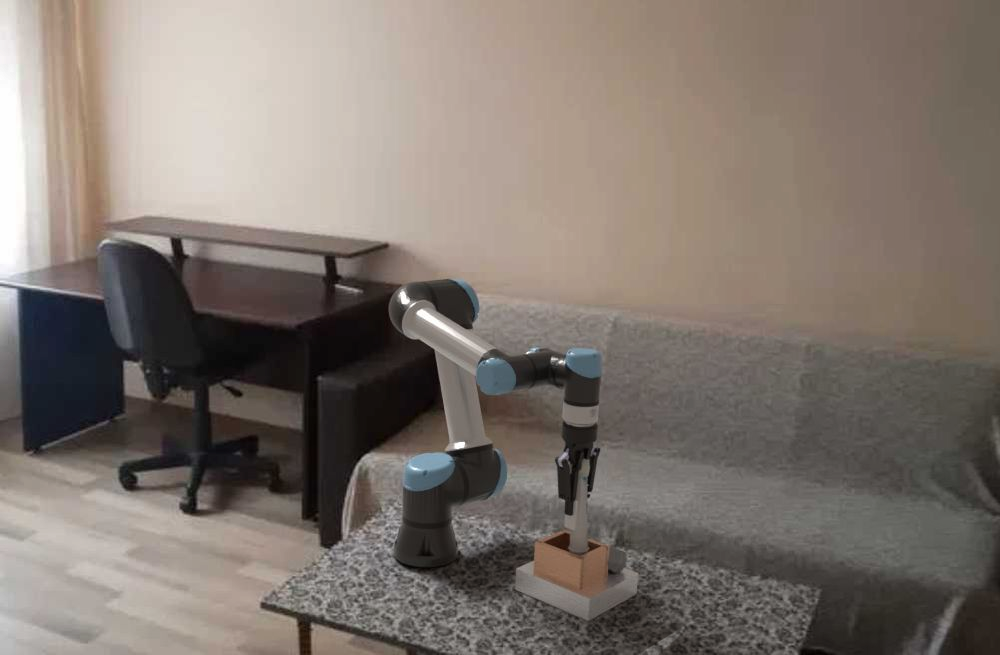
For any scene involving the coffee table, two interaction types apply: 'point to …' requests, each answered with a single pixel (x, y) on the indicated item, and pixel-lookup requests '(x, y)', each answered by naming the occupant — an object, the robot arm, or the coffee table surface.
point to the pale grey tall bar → (581, 513)
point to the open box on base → (577, 576)
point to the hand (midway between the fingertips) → (573, 526)
